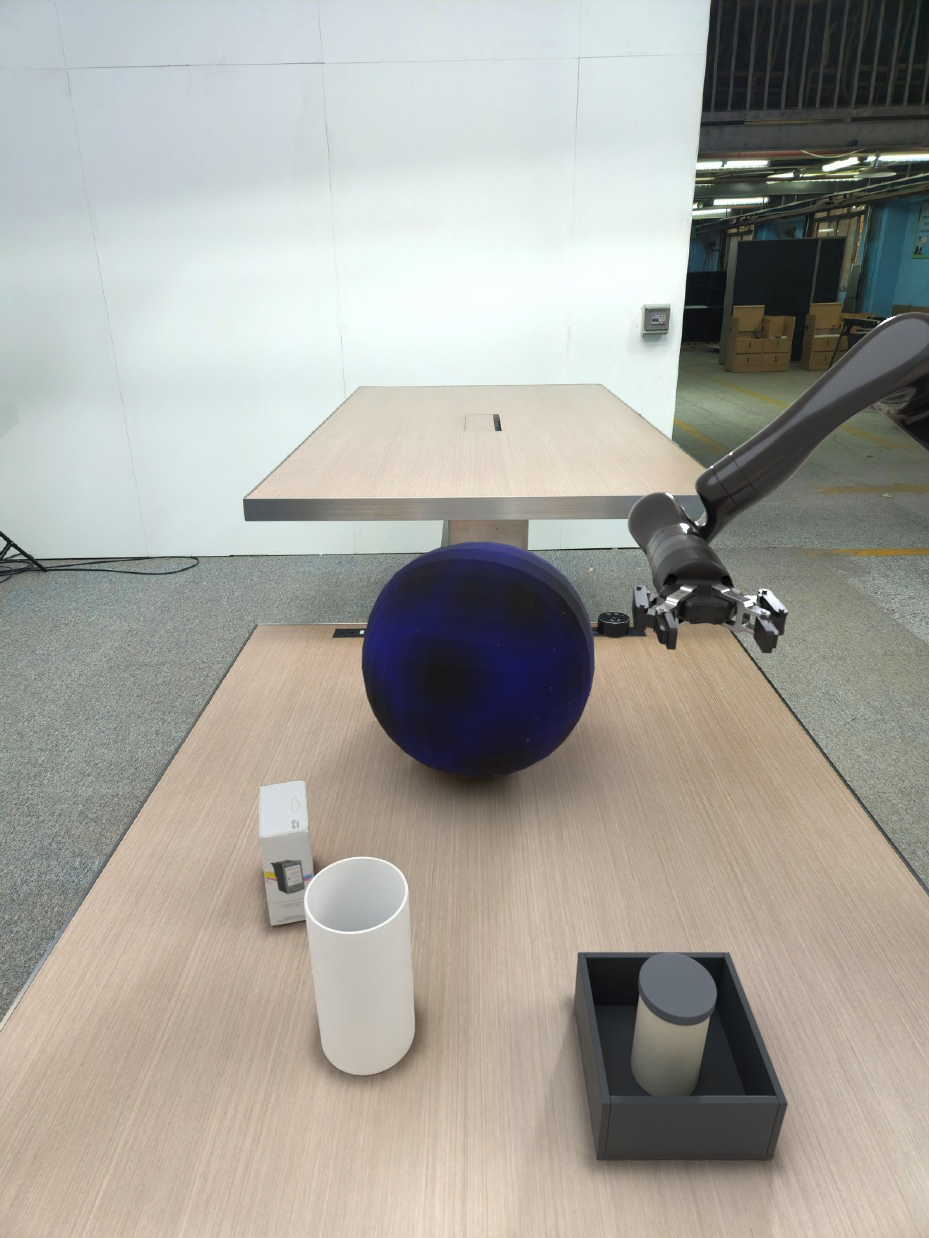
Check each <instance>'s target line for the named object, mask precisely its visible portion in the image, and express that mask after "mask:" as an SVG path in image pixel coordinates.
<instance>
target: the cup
mask: <svg viewBox="0 0 929 1238" xmlns="http://www.w3.org/2000/svg"><path fill="white" fill-rule="evenodd" d="M304 908H305V916H306V920H305V925H306V931H307V939H308V949H309V955H310V963H311V971H312V972H311V973H312V979H313V986H314V996H315V1004H316V1011H317V1020H318V1027H319V1035H320V1036H319V1037H320V1043H321V1048H322V1050H323V1054H324V1056H325V1057H326V1058H327V1060H328V1061H329V1062H330V1063H331V1064H332V1066H334V1067H335V1068H337V1069H338V1070H340V1071H341V1072H344V1073H345V1074H349V1075H353V1076H354V1075H355V1076H371V1075H375V1074H379V1073H382V1072H385V1071H386V1070H388V1069H391V1067H392V1068H393V1066H395V1065H397V1063H399V1062H400V1061H401V1060H402V1059H403V1058H404V1056H405V1055H406V1054H407V1053H408V1051H409V1050H410V1047H411V1046H412V1043H413V1041H414V1037H415V1033H416V1019H415V1018H416V1017H415V1016H416V1015H415V997H414V996H415V995H414V977H413V975H414V974H413V958H412V957H413V956H412V955H413V954H412V934H411V913H410V912H411V911H410V894H409V886H408V882H407V879H406V877H405V875H404V873H403V872H402V871H401V870H400V869H399V868H398V867H397V866H395V865H394V864H393V863H391V862H389V861H387V860H384V859H381V858H378V857H372V856H355V857H348V858H343V859H340V860H338V861H335V862H333V863H331V864H329V865H327V866H326V867H323V868H322V869H321V870H320V871H319V872H318V873H316V875H314V878H313V879H312V880H311V882H310V883H309V885H308V887H307V889H306V892H305V897H304Z"/></svg>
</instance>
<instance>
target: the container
mask: <svg viewBox="0 0 929 1238" xmlns="http://www.w3.org/2000/svg"><path fill="white" fill-rule="evenodd" d="M638 989H639V1002H638V1009H637V1017H636V1025H635V1032H634V1040H633V1048H632V1055H631V1069H632V1072H633V1075H634V1077H635V1079H636V1081H637V1082H638V1083H639V1085H640V1086H641V1087H642V1088H643V1089H644V1090H645V1091H646V1092H648V1093H649V1094H651V1095H652V1096H689V1095H690V1094H691V1093H692V1092H693V1091H694V1090H695V1088H696V1085H697V1082H698V1077H699V1072H700V1066H701V1061H702V1056H703V1051H704V1045H705V1040H706V1035H707V1030H708V1024H709V1019H710V1016H711V1014H712V1013H713V1010H714V1008H715V1003H716V998H717V989H716V985H715V982H714V980H713V978H712V976H711V975H710V974H709V972H708V971H707V970H706V969H705V968H704V967H703V966H702V965H701V964H699V963H698V962H697V961H695V960H693V959H691V958H689V957H687V956H684V955H680V954H675V953H662V954H658V955H655V956H653V957H651V958H649V959H648V960H647V961H646V962H645V963H644V964H643V966H642V967H641V970H640V974H639V981H638Z"/></svg>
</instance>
